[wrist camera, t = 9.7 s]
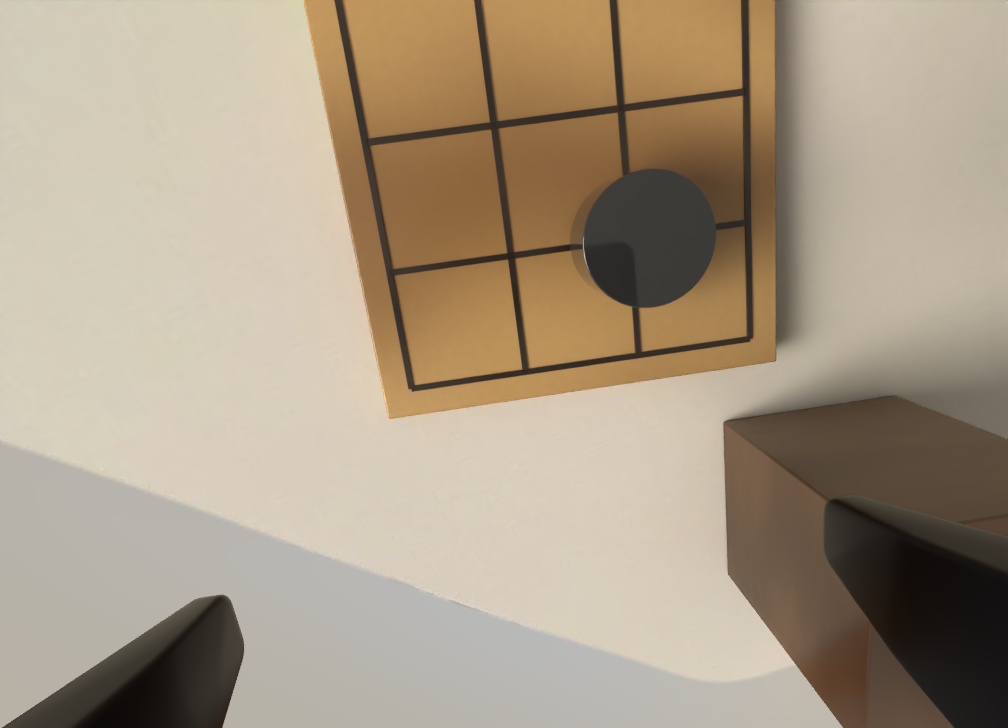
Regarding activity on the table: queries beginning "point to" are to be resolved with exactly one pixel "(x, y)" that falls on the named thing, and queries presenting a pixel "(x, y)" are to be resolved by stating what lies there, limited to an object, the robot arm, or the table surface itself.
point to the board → (545, 184)
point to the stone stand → (799, 532)
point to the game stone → (644, 238)
